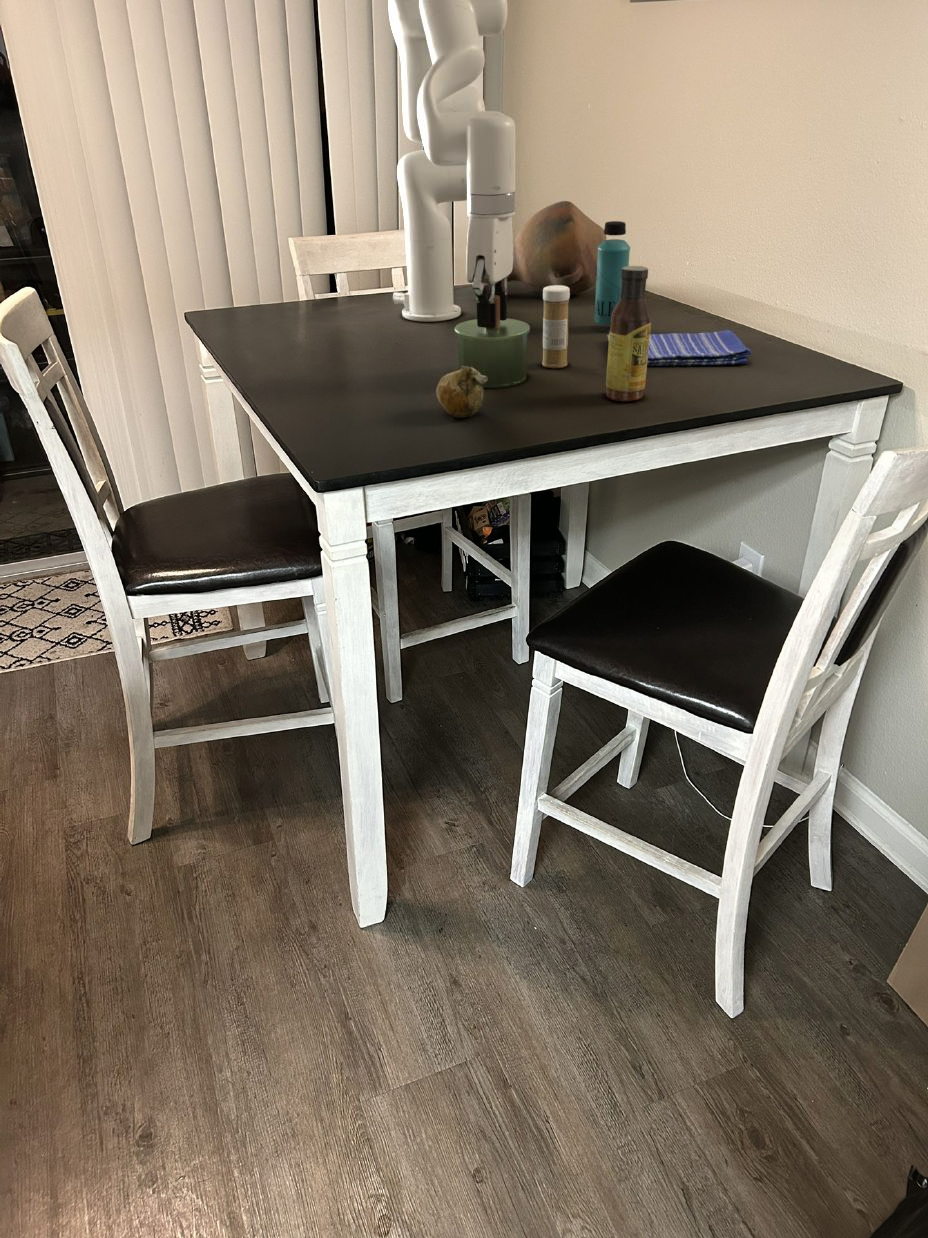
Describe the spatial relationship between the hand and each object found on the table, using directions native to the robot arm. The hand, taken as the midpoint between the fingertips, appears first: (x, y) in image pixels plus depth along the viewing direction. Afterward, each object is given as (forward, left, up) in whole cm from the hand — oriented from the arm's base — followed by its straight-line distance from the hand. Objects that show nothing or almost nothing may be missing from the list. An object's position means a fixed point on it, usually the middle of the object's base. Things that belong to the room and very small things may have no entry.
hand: (492, 322), depth 154 cm
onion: (+2, -19, -10) cm, 21 cm away
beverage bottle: (+11, +37, -10) cm, 40 cm away
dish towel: (+27, +24, -10) cm, 37 cm away
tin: (0, 0, -9) cm, 9 cm away
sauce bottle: (+24, -3, -10) cm, 26 cm away
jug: (-12, +61, -10) cm, 63 cm away
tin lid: (0, 0, -1) cm, 1 cm away
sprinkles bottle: (+8, +10, -10) cm, 16 cm away
